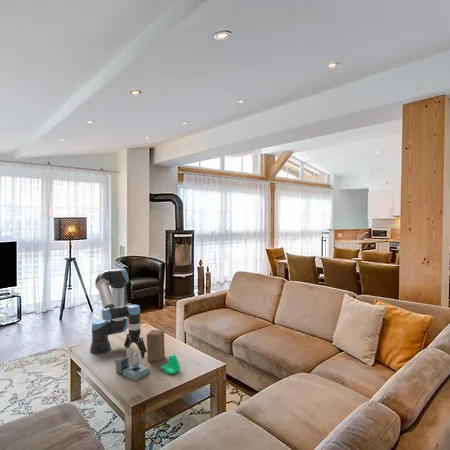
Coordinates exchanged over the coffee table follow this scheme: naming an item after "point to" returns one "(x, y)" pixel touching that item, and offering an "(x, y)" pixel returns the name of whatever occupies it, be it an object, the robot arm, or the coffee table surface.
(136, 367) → the cylinder
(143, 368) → the socket plate
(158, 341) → the wooden block
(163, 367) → the camera mount
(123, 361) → the square bit
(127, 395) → the coffee table surface
